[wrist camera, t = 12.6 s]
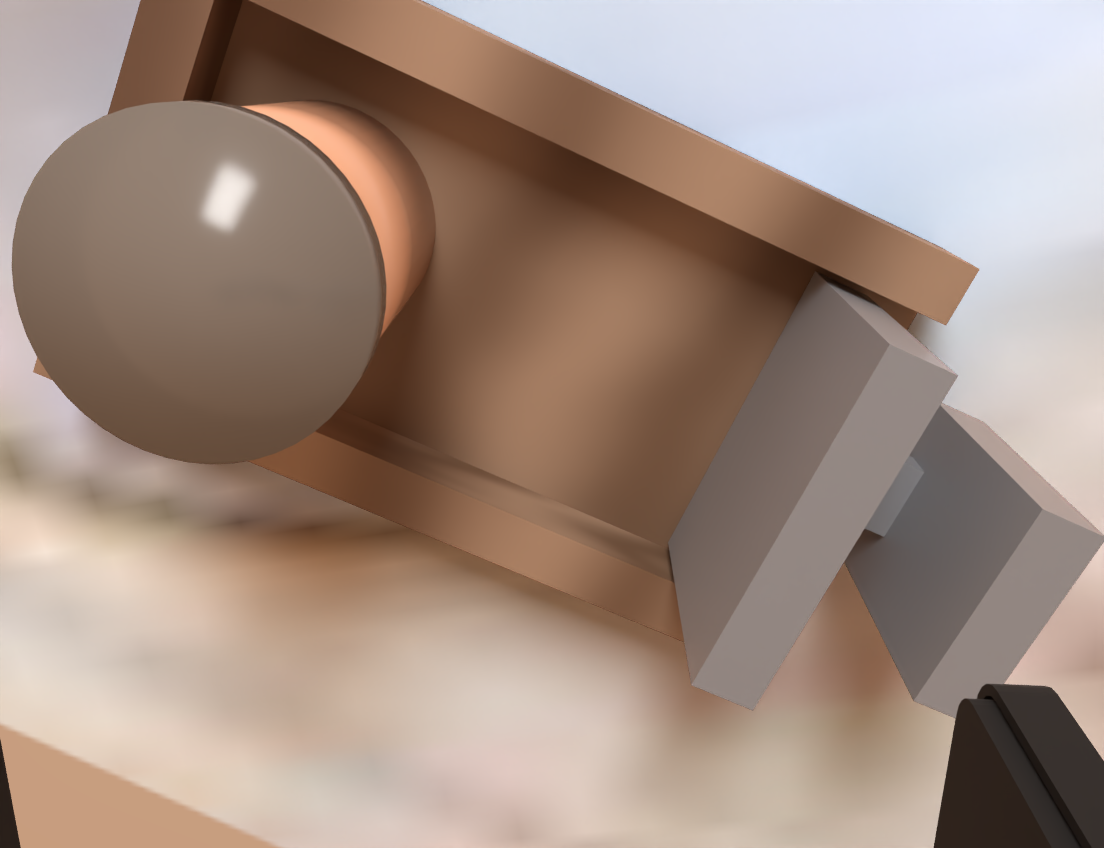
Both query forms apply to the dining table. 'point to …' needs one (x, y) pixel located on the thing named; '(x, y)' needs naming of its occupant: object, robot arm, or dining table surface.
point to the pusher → (868, 516)
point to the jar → (219, 269)
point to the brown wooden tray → (542, 285)
